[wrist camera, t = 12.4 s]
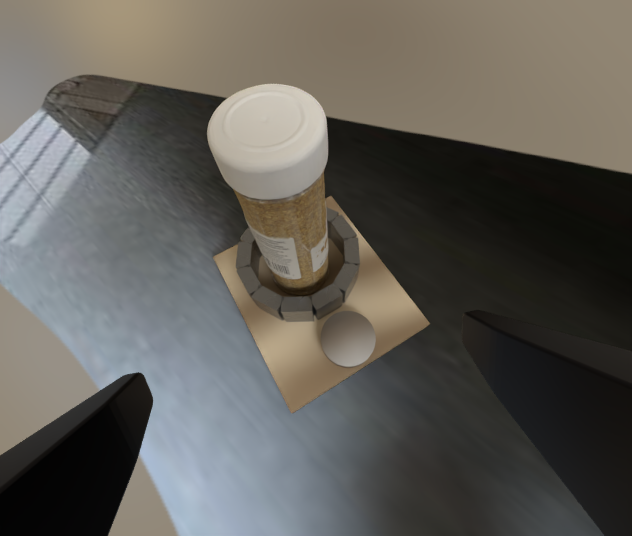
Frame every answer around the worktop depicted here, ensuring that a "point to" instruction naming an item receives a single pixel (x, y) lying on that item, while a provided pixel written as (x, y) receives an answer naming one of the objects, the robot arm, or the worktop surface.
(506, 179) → the worktop surface
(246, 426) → the worktop surface
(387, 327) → the carrier plate
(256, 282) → the socket ring
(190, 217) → the worktop surface
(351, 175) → the worktop surface
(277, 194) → the sprinkles bottle
